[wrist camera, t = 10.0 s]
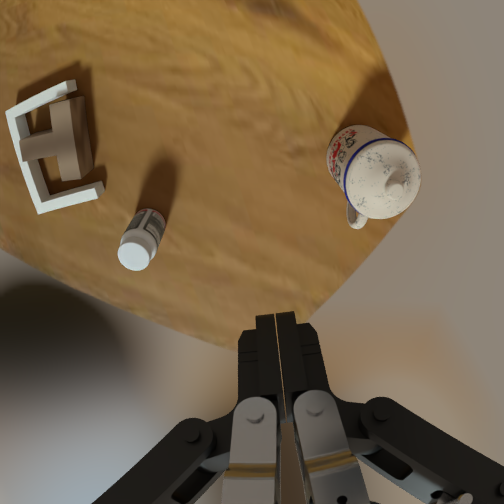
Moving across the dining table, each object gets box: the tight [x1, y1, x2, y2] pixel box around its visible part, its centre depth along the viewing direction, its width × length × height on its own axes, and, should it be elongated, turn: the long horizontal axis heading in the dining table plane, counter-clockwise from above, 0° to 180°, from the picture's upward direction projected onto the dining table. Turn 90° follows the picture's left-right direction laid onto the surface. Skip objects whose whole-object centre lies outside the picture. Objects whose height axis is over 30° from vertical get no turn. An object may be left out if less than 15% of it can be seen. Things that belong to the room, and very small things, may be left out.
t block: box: [19, 96, 94, 181], centre depth 32 cm, size 10×9×4 cm
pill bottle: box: [118, 209, 166, 271], centre depth 38 cm, size 5×5×8 cm
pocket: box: [5, 79, 105, 214], centre depth 33 cm, size 16×11×2 cm
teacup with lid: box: [327, 125, 421, 229], centre depth 33 cm, size 12×9×12 cm
